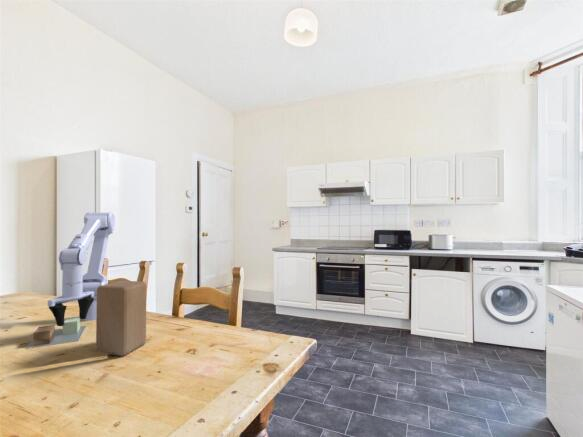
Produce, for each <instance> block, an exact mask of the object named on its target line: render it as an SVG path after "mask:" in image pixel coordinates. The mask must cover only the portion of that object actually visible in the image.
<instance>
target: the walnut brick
mask: <svg viewBox="0 0 583 437" xmlns="http://www.w3.org/2000/svg"><path fill="white" fill-rule="evenodd" d="M55 328H56V327H55V324H50V325H45V326H38V328H37V329H36V330H34V331H33V333H32V338H33V339H32V341H33V346H37V345H44V344H50V343H51V341H52V340H53V338H54V337H55V330H56V329H55Z"/></svg>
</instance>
